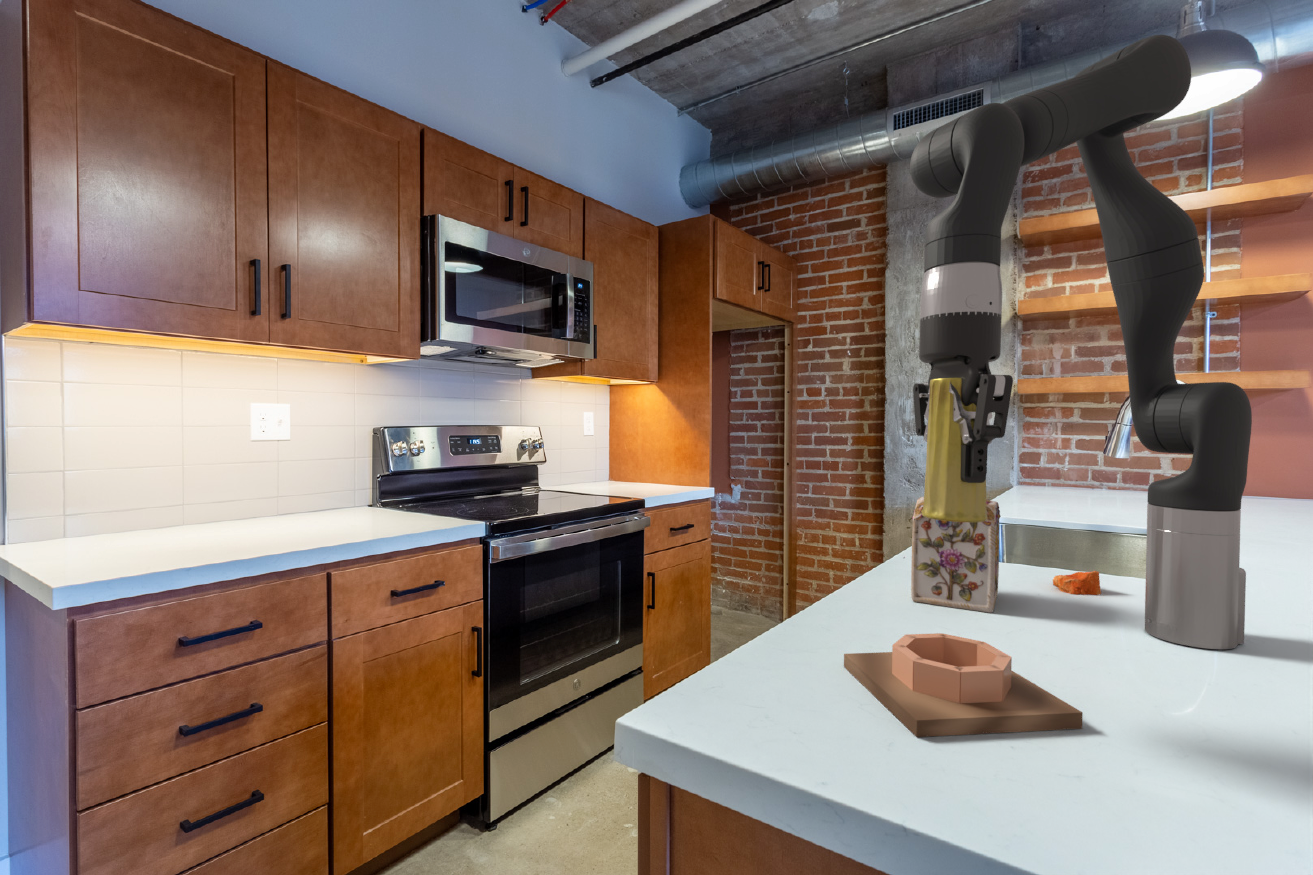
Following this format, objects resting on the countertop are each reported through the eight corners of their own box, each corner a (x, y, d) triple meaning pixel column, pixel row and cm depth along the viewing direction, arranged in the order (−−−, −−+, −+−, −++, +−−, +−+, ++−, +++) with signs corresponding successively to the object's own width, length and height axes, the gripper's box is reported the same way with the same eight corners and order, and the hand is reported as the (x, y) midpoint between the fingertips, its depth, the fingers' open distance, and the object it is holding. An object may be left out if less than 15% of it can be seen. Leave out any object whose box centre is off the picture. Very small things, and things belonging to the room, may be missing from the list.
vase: (995, 524, 60) (1000, 377, 60) (928, 520, 62) (932, 377, 61) (976, 515, 66) (981, 381, 66) (915, 512, 68) (919, 381, 67)
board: (975, 661, 73) (975, 648, 73) (1082, 728, 57) (1082, 712, 57) (843, 666, 71) (844, 653, 71) (916, 736, 55) (916, 720, 55)
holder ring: (967, 658, 70) (967, 632, 70) (1032, 699, 59) (1033, 668, 59) (878, 662, 69) (878, 635, 69) (929, 704, 58) (929, 673, 58)
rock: (1017, 587, 109) (1018, 563, 109) (1074, 583, 112) (1075, 559, 112) (1078, 607, 97) (1079, 580, 97) (1140, 602, 100) (1140, 575, 100)
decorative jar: (909, 602, 97) (910, 487, 97) (921, 585, 107) (922, 481, 107) (996, 614, 91) (998, 492, 91) (1000, 596, 101) (1002, 485, 101)
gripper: (1044, 303, 57) (1038, 487, 57) (954, 327, 71) (949, 474, 72) (967, 299, 56) (961, 486, 57) (891, 325, 71) (887, 474, 71)
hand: (954, 479), depth 64 cm, fingers closed on vase, 5 cm apart
